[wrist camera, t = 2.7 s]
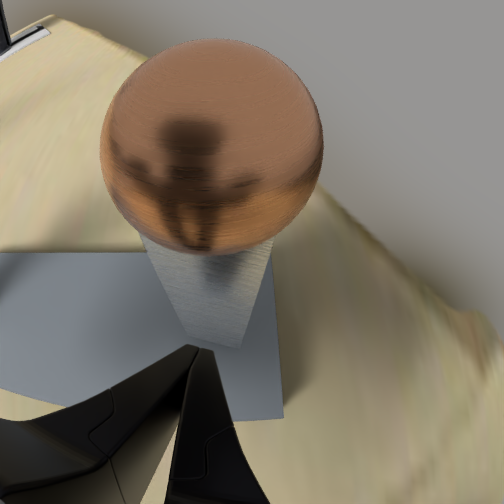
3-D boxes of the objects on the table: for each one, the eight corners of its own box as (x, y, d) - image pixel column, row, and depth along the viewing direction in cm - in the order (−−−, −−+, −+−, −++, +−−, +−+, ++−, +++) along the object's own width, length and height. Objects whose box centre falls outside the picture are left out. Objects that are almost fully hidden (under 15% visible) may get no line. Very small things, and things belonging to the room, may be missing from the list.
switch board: (275, 415, 15) (283, 418, 12) (-32, 372, 12) (-53, 366, 10) (264, 270, 19) (270, 252, 17) (-15, 267, 16) (-32, 253, 14)
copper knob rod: (244, 367, 13) (366, 168, 2) (175, 350, 13) (14, 120, 2) (258, 303, 14) (346, 36, 3) (194, 287, 14) (152, 13, 3)
